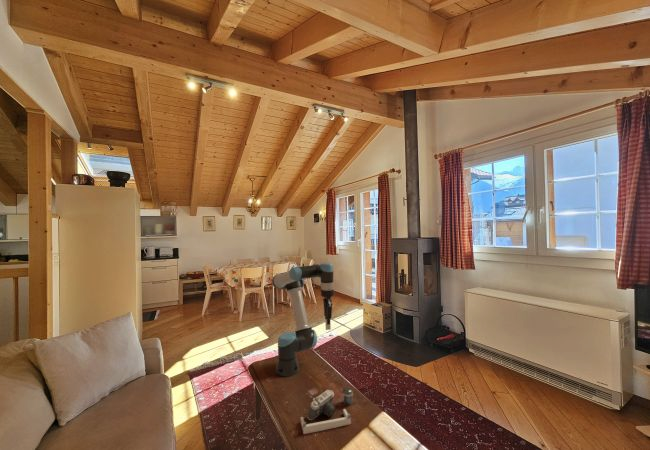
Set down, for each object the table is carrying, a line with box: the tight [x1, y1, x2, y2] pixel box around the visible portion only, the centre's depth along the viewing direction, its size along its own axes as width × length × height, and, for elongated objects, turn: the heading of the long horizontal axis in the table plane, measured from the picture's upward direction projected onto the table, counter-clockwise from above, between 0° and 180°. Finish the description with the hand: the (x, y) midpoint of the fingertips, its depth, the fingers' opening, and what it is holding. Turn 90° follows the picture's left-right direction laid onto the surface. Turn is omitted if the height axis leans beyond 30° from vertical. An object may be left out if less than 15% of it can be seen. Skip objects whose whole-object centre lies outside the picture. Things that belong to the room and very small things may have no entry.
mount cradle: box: [300, 408, 352, 435], centre depth 132 cm, size 8×22×4 cm, turn 104°
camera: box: [306, 389, 336, 421], centre depth 138 cm, size 9×16×10 cm, turn 140°
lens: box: [342, 387, 354, 407], centre depth 147 cm, size 5×5×7 cm
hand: (328, 329), depth 166 cm, fingers closed
